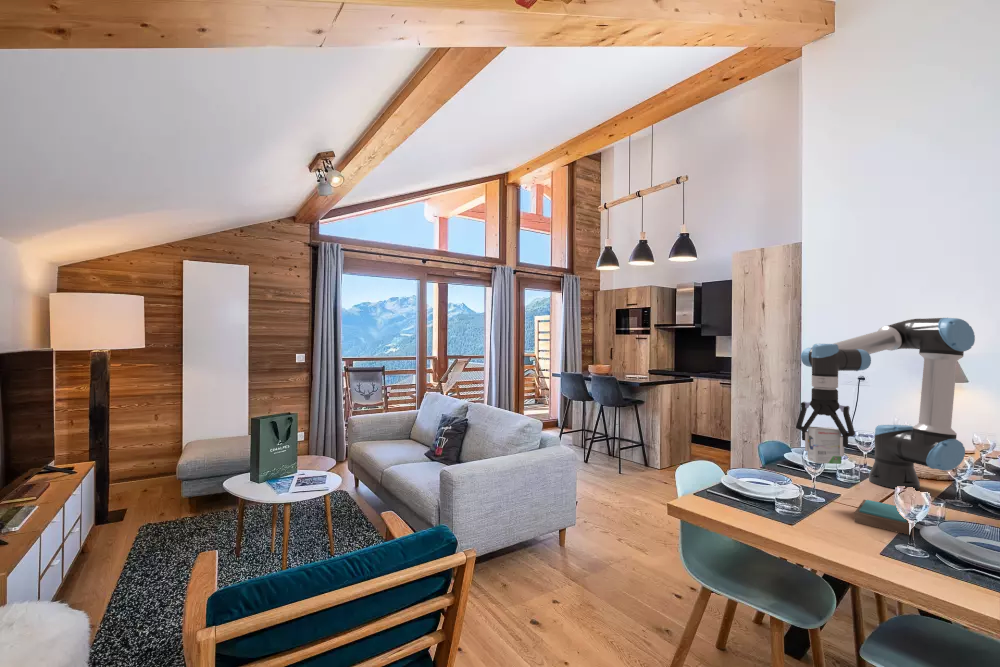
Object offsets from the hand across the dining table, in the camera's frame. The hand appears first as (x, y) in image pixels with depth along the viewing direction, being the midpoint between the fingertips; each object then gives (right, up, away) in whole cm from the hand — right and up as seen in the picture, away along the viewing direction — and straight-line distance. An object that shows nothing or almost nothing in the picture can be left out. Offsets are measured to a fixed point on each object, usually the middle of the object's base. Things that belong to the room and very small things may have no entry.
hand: (824, 452), depth 160 cm
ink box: (0, -3, 0) cm, 3 cm away
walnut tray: (+9, -18, -15) cm, 25 cm away
